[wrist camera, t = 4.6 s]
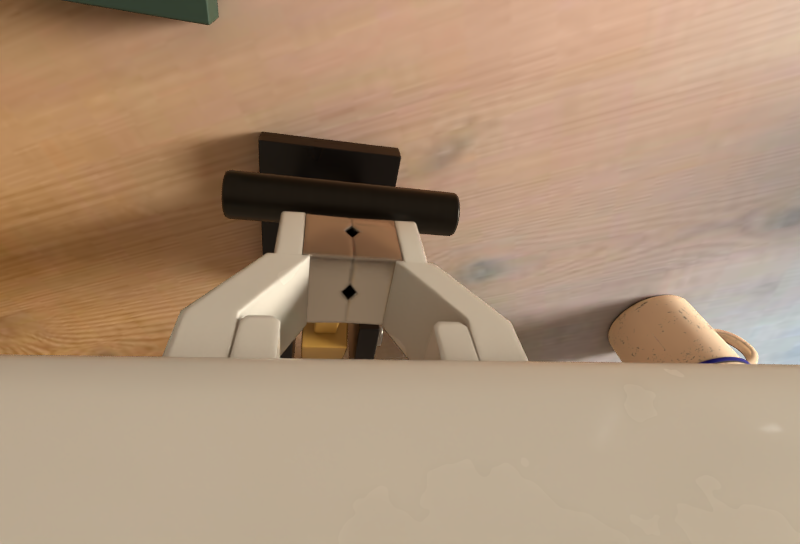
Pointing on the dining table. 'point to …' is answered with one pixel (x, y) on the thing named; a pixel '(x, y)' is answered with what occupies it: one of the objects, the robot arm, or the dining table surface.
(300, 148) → the lever stand
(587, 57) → the dining table surface
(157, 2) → the button housing
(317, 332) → the tap lever
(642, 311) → the teacup with lid
